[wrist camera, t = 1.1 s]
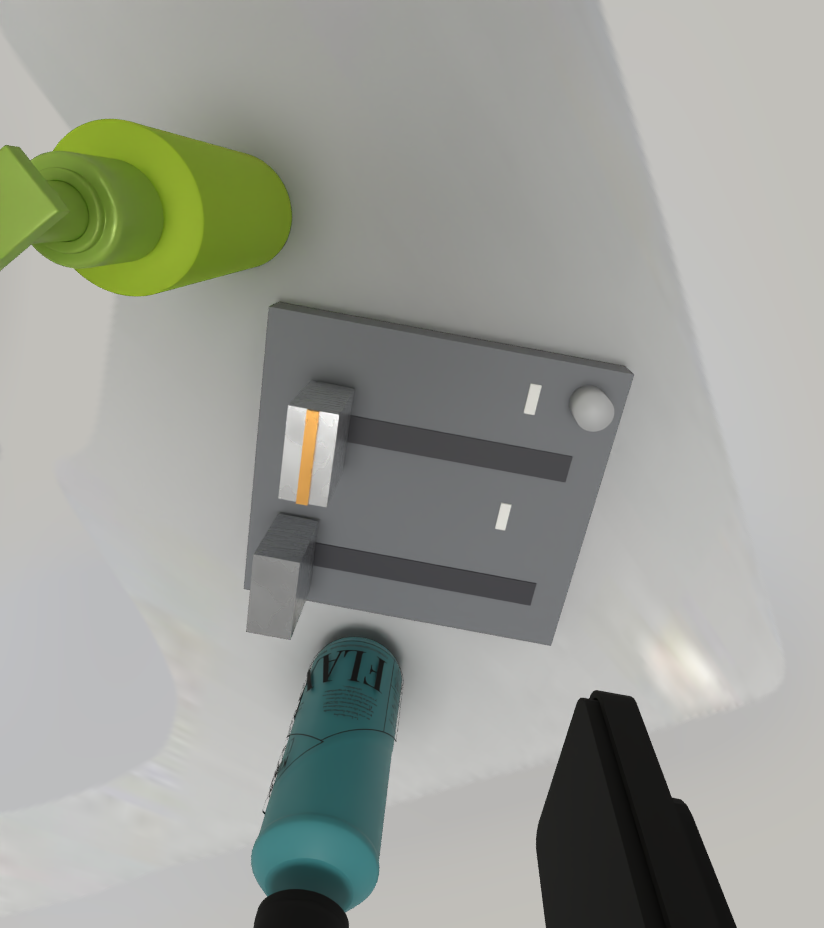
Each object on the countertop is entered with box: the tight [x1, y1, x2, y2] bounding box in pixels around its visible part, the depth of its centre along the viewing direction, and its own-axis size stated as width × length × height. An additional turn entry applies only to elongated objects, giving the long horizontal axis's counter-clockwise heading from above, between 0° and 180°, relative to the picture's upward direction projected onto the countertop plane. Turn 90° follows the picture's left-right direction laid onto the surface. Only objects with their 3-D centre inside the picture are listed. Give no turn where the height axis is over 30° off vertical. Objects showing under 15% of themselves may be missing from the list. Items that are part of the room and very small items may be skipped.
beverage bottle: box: [251, 637, 404, 928], centre depth 36 cm, size 6×7×20 cm
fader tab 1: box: [278, 380, 355, 507], centre depth 34 cm, size 5×2×5 cm, turn 170°
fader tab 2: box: [246, 514, 319, 640], centre depth 38 cm, size 5×2×5 cm, turn 170°
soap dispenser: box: [0, 119, 292, 296], centre depth 26 cm, size 6×7×20 cm
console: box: [244, 302, 634, 646], centre depth 38 cm, size 18×20×4 cm
